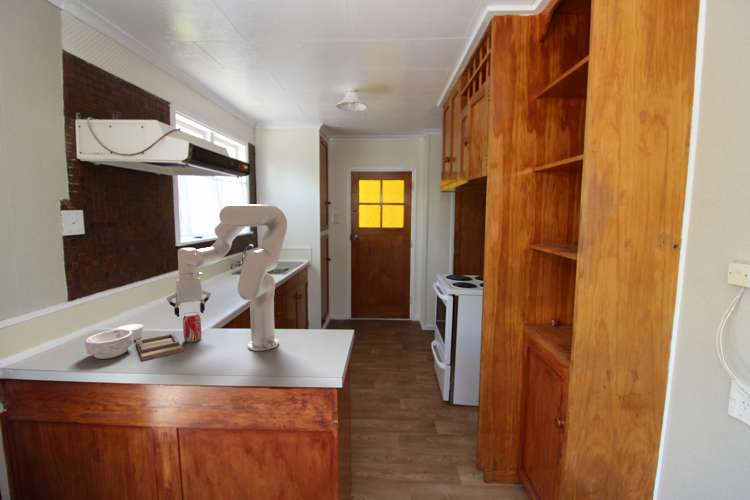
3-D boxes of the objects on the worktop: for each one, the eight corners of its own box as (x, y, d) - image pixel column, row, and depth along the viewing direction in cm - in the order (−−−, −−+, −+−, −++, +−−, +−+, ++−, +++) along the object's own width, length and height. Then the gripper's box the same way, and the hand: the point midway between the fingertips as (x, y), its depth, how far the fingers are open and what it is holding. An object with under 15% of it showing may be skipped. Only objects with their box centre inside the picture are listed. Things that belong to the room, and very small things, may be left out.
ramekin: (109, 345, 150) (107, 333, 149) (119, 336, 160) (118, 325, 160) (138, 342, 153) (137, 330, 152) (147, 333, 163) (146, 322, 163)
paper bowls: (76, 361, 133) (74, 341, 132) (111, 346, 148) (109, 328, 147) (111, 363, 131) (109, 343, 130) (143, 347, 146) (141, 329, 145)
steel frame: (179, 344, 146) (179, 342, 145) (142, 352, 137) (141, 349, 137) (173, 336, 156) (173, 333, 155) (138, 343, 147) (138, 340, 147)
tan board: (182, 351, 143) (182, 347, 142) (142, 360, 134) (141, 356, 134) (173, 336, 159) (173, 333, 159) (136, 343, 151) (136, 340, 151)
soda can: (181, 340, 155) (180, 314, 153) (198, 336, 160) (197, 310, 158) (186, 344, 150) (185, 317, 148) (204, 340, 155) (202, 314, 153)
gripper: (207, 272, 160) (208, 308, 162) (164, 276, 149) (166, 315, 151) (212, 275, 154) (213, 312, 156) (167, 279, 143) (169, 319, 145)
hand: (190, 314), depth 154 cm, fingers open, 9 cm apart
